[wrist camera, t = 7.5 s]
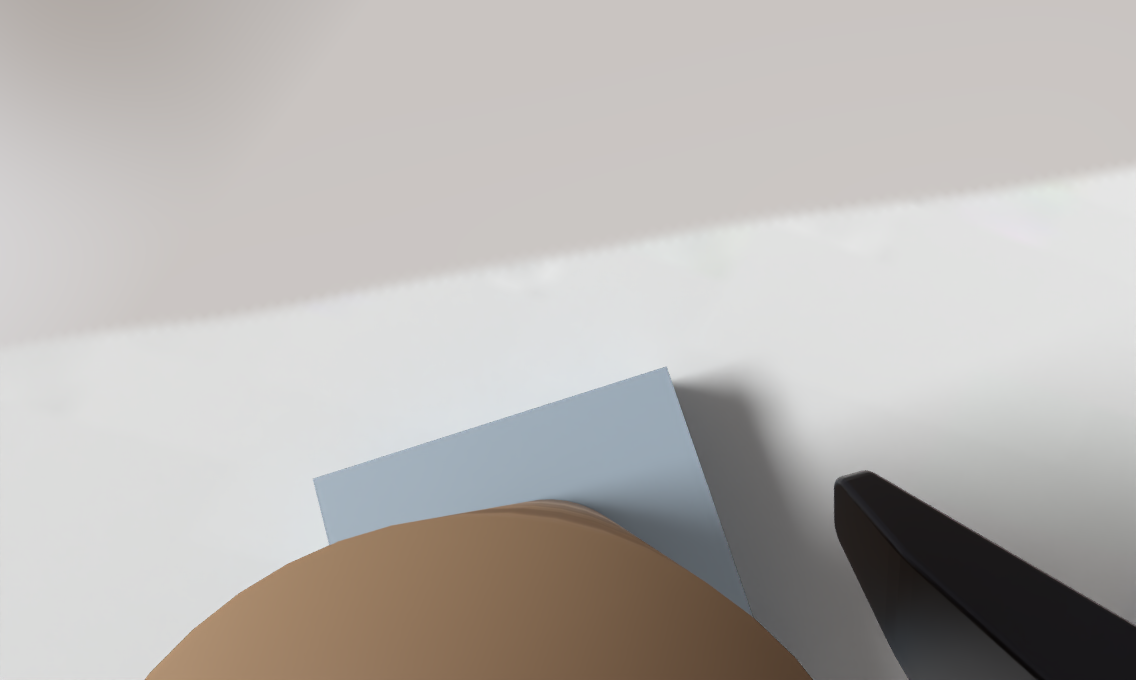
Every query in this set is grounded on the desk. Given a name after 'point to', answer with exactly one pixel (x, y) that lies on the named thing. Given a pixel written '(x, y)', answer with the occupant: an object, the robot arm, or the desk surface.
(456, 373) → the desk surface
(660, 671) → the walnut pillar
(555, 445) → the pale blue square tile
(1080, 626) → the robot arm
